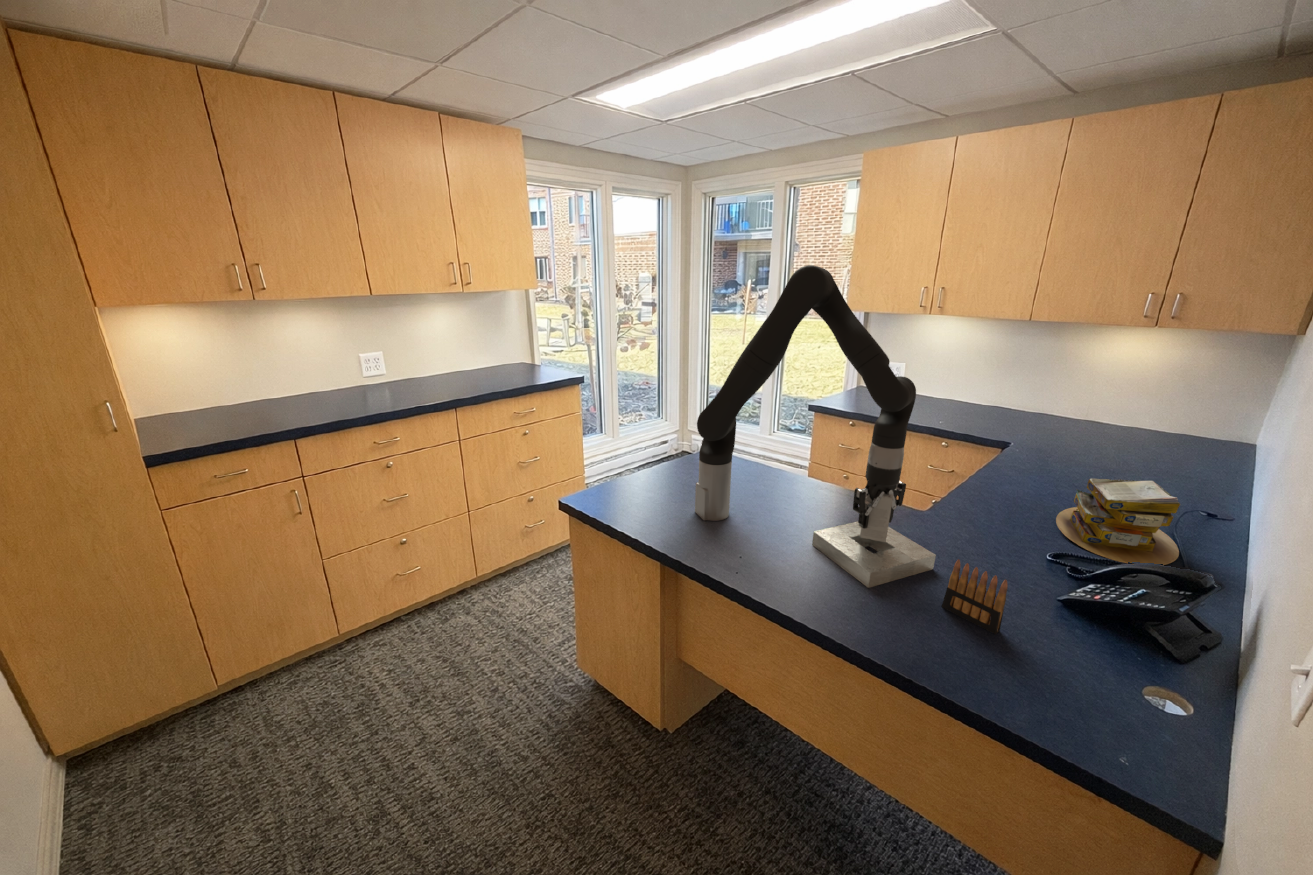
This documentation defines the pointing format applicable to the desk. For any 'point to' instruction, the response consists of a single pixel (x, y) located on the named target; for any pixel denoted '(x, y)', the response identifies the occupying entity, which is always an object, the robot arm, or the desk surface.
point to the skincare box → (878, 519)
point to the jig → (869, 568)
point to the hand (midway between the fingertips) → (874, 524)
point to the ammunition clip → (975, 598)
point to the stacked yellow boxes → (1122, 521)
